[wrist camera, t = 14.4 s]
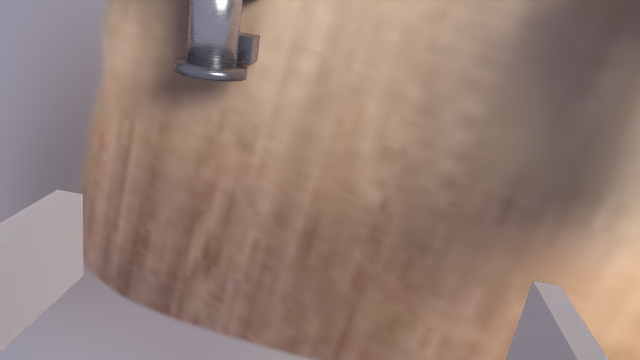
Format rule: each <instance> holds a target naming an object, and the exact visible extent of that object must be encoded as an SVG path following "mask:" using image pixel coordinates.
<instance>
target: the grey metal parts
mask: <svg viewBox="0 0 640 360" xmlns="http://www.w3.org/2000/svg"><path fill="white" fill-rule="evenodd" d="M242 3H243V0H190V6H189V22H188V38H187V54H186V57H184V58H176V59H174V71H176V72H177V73H180V74H183V75H186V76H190V77H195V78H200V79H206V80H215V81H242V80H245V79H246V77H247V68H246V67H244V66H241V65H238V64H237V62H241V63H247V64H251V63H254V62H256V61H257V57H258V48H259V39H260V36H258V35H252V34H246V33H240V23H241V13H242Z"/></svg>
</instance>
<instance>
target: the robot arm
mask: <svg viewBox="0 0 640 360" xmlns="http://www.w3.org/2000/svg"><path fill="white" fill-rule="evenodd" d="M82 276H83V195H82V194H77V193H72V192H66V191H61V190H56V191H54V192H53V193H51V194H49V195H48V196H46V197H44V198H43V199H41V200H39V201H37V202H35V203H34V204H32V205H30V206H29V207H27V208H25V209H23V210H22V211H20V212H18V213H16V214H15V215H13V216H12V217H10V218H8V219H6V220H4V221H3V222H1V223H0V352H1V351H2V350H3V349H4V348H6V347H7V346H8V345H9V344H10V343H11V342H12V341H13V340H14V339H15V338H16V337H17V336H19V335H20V334H21V333H22V332H23V331H24V330H25V329H26V328H27V327H28V326H29V325H31V323H33V322H34V321H35V320H36V319H37V318H38V317H39V316H40V315H41V314H42V313H43V312H44V311H46V310H47V309H48V308H49V307H50V306H51V305H52V304H53V303H54V302H55V301H57V300H58V299H59V298H60V297H61V296H62V295H63V294H64V293H65V292H66V291H67V290H68V289H69V288H70V287H71V286H73V285H74V284H75V283H76V282H77V281H78V280H79V279H80V278H81V277H82ZM506 360H609V359H608V358H607V356H606V355H605V353H604V352H603V350H602V349H601V347H600V345H599V344H598V342H597V341H596V339H595V338H594V336H593V335H592V333H591V332H590V330H589V329H588V327H587V326H586V324H585V322H584V321H583V319H582V318H581V316H580V315H579V313H578V312H577V310H576V309H575V307H574V306H573V304H572V303H571V301H570V299H569V298H568V296H567V295H566V293H565V292H564V290H563V289H562V287H561V286H557V285H552V284H546V283H541V282H536V281H533V283H532V286H531V289H530V292H529V295H528V298H527V300H526V303H525V306H524V309H523V312H522V315H521V317H520V320H519V323H518V326H517V329H516V332H515V334H514V337H513V340H512V343H511V346H510V349H509V351H508V354H507V357H506Z"/></svg>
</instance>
